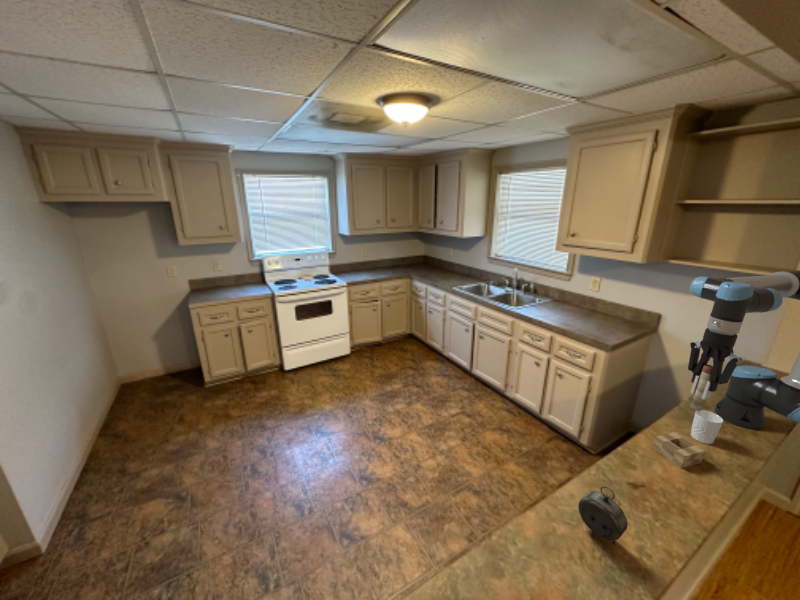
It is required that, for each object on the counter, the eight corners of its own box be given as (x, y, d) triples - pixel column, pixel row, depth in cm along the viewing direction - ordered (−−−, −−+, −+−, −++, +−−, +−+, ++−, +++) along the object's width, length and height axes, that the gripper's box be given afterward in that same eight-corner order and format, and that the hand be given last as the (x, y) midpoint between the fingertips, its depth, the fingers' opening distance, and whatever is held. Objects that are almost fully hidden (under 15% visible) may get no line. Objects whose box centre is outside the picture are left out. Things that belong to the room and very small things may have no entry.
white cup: (720, 446, 124) (728, 424, 121) (696, 443, 126) (704, 421, 123) (706, 432, 131) (714, 411, 128) (683, 429, 133) (690, 408, 130)
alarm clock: (622, 544, 89) (636, 497, 84) (613, 556, 86) (626, 508, 81) (581, 513, 97) (592, 469, 92) (571, 523, 94) (581, 478, 89)
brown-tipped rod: (694, 405, 115) (707, 363, 110) (703, 410, 112) (717, 368, 108) (688, 406, 114) (701, 364, 110) (697, 411, 112) (711, 369, 107)
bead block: (672, 442, 126) (675, 431, 124) (701, 462, 117) (705, 450, 115) (652, 447, 123) (655, 436, 122) (680, 468, 114) (684, 456, 112)
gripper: (686, 322, 111) (667, 384, 118) (744, 342, 97) (719, 411, 104) (702, 321, 113) (683, 381, 120) (761, 339, 99) (735, 407, 106)
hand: (700, 395), depth 112 cm, fingers closed on brown-tipped rod, 3 cm apart
